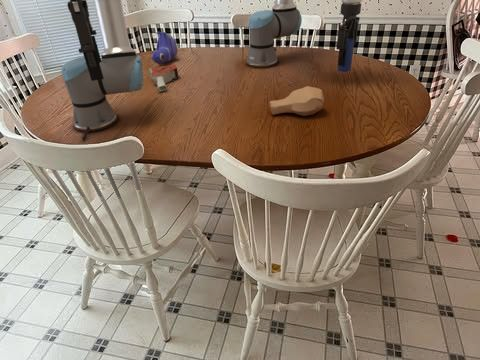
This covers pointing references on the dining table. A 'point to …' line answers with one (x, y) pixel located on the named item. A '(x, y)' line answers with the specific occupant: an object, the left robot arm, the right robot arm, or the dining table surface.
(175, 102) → the dining table surface
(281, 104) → the squash
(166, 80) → the tape dispenser
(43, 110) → the dining table surface
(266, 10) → the right robot arm
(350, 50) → the can
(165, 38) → the toy
